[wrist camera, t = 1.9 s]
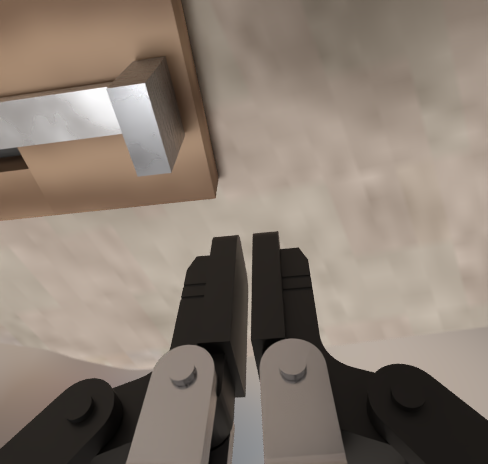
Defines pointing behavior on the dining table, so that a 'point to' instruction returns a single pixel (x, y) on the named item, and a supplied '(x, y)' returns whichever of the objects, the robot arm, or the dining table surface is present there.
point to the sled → (104, 116)
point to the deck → (88, 73)
